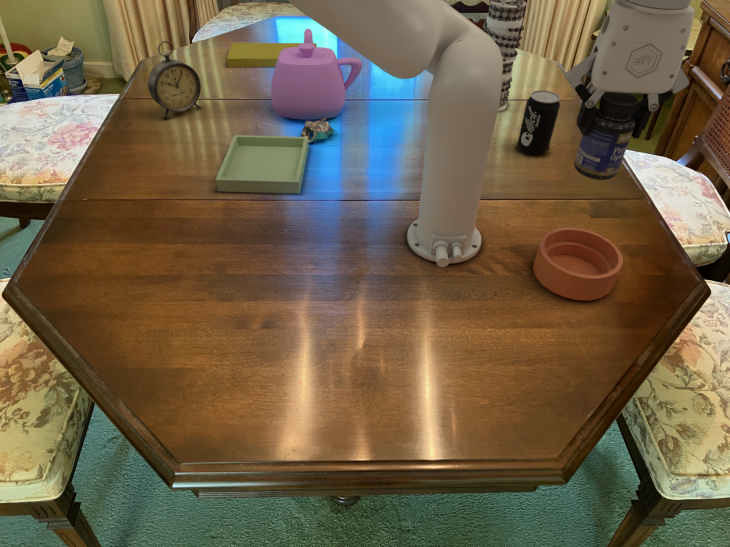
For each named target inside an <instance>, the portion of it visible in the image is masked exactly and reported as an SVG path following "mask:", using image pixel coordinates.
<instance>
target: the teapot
mask: <svg viewBox="0 0 730 547" xmlns="http://www.w3.org/2000/svg"><path fill="white" fill-rule="evenodd" d="M301 43H302V44H299V45H298V47H290V48H285V49H283V50H282V51H281V52H280V54H279V57H278V60H277V63H276V66H275V67H274V69H273V74H272V77H271V86H270V87H271V88H270V100H271V105H272V108H273V109H274V110H275V112H276V113H277V114H278V115H279V116H280V117H282V118H287V119H293V120H321V119H323V118H326V119H331V118H334V117H337V116H339V114H340V113H341V111H342V110H343V108H344V106H345V102H346V98H347V90H348V89H349V88H350V87H351V86H352V84H353V83H354V82H355V81H356V80H357V78H358V76H359V75H360V73H361V71H362V68H363V63H362V60H361V59H359V58H357V57H343V58H338V57H337V55H336V53H335V51H334V50H333V49H332V48H329V47H323V46H322V47H321V46H317V47H315V45H314V44H313V43H314V40H313V31H312V29H310V28H306V29H304V33H303V42H301ZM341 66H350V67H351V70H350V73H349V75H348V77H347V79H346V81H345V79H344V78H345V77H344V74H343V71H342V68H341Z"/></svg>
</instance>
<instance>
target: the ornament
mask: <svg viewBox="0 0 730 547" xmlns="http://www.w3.org/2000/svg"><path fill="white" fill-rule="evenodd" d="M311 134H313V135H312V137H311ZM333 134H335V129H334V128H333V127H332V126H331V125H330V121H327V118H323V119H317V120H314V121H312V119H307V120H305V122H304V126H303V127H302V130H301V132H300V137H308V144H311V143H316V141H317V140H324V139H328V138H329V137H330V135H333Z"/></svg>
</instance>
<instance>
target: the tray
mask: <svg viewBox="0 0 730 547" xmlns="http://www.w3.org/2000/svg"><path fill="white" fill-rule="evenodd" d="M309 144H310V143H308V137H301V136H283V135H282V136H281V135H253V134H252V135H250V134H249V135H248V134H246V135H245V134H234V135H233V136H232V139H231V142H230V144H229V146H228V149H227V151H226V154H225V156H224V159H223V161H222V163H221V166H220V168H219V171H218V173H217V175H216V178H215V184H216V189H217V192H225V193H226V192H227V193H259V194H265V193H267V194H298V195H299V194H301V190H302V183H303V180H304V174H305V169H306V163H307V160H308V159H307V158H308V153H309V149H310V147H309Z"/></svg>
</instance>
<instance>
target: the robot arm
mask: <svg viewBox="0 0 730 547" xmlns="http://www.w3.org/2000/svg"><path fill="white" fill-rule="evenodd" d="M287 1H288V2H289V3H290V4H291V5H292V6H293V7H294V8H296V9H297V10H298V11H299V12H301V13H302V14H304V15H305V16H306V17H308V18H309V19H311V20H313V21H314V23H315V22H316V23H317V24H318V25H320V26H321V27H323V28H324V29H326V30H327V31H328V32H330V34H331V33H332V35H334V36H336V37H337V38H338V39H339V40H340V41H342V42H343V43H344V44H346V45H347V46H349V47H350V48H351V49H352V50H354V51H355V52H357V53H358V54H359V55H361V56H362V57H364V58H365V59H367V60H368V61H369V62H371V63H372V64H373V65H374V66H376V67H378V68H379V69H380V70H381V71H383V72H384V73H386V74H388V75H389V76H391V77H393V78H396V79H400V80H410V79H414V78H416V77H418V76H419V75H420V74H422V73H423V72H424V71H427V72H428V73H429V74H431V75H432V76H433V77H432V80H431V84H430V89H429V93H428V100H427V117H426V132H425V145H424V156H423V169H422V179H421V188H420V199H419V208H418V217H417V219H415V220H413V222H411V224H410V225H409V227H408V228H407V235H406V240H407V244H408V246H409V248H410V249H411V250H412V252H414V253H415V254H417V255H418V256H419V257H421V258H423V259H424V260H427V261H430V262H435V263H436V265H437V267H439V268H445V267H447V266H449V264H458V263H463V262H466V261H468V260H470V259H472V258H474V257H475V256H476V255H477V254H478V253H479V252H480V249H481V246H482V242H483V240H482V235H481V233H480V231H479V230H478V228H477V227H476V223H477V218H478V212H479V207H480V203H481V197H482V192H483V187H484V181H485V176H486V170H487V163H488V159H489V153H490V148H491V142H492V138H493V135H494V134H493V133H494V129H495V125H496V121H497V117H498V113H499V111H498V108H499V103H500V96H501V86H502V70H503V61H502V55H501V52H500V49H499V47H498V46H497V44H496V43H495V42H494V40H493V39H492V38H491V37H489V36H488V35H487V34H486V32H484V31H483V29H481V28H480V27H479V26H477V25H476V24H475V23H473V22H472V21H470V20H469V19H468V17H465V16H464V15H463V14H461V13H460V12H459V11H458V10H456V9H455V8H453V7H452V6H451V5H450V4H449V3H447V2H445V1H444V0H287ZM691 2H692V0H614V1H613V3H612V4H611V6H610V8H609V10H608V12H607V14H606V16H605V18H604V20H603V22H602V25H601V26H600V29H599V31H598V33H597V36H596V39H595V42H594V44H593V47H592V50H591V52H590V54H589V55H588V56H586V57H585V58H584V59H583V60H581V61H580V62H578V63H577V64H575V66H573V67H572V68H570V69H568V70H567V71H566V73H565V78H566V80H567V81H568V83H569V84H570V85H571V87H572V89H574V91H575V93H576V94H577V96H578V97H579V99H580V100H581V101H582V102H581V105H580V108H579V112H578V114H577V118H576V126H577V127H578V128H579V129H578V130H579V131H580V133H581V135H582V136H587V135H589V133H590V130H591V127H592V124H593V121H594V118H595V115H596V112H597V107H596V104H597V102H599V101H600V98H601V96H602V95H603V94H604V93H605V92H622V93H629V94H641V100H638V105H637V107H636V110H635V111H634V112H633V113H632V115H633V116H634V118H635V121H636V125H635V128H634V130H633V133H632V136H631V138H633V139H640V138H641V134H642V132H643V131H644V130H645V129H646V127H647V125H648V123H649V121H650V118H651V115H652V112H656V111H657V109H659V106H660V105H662V104H663V103H665V102H667V101H669V100H670V99H671V98H672V97H673V95H674V94H677V93H679V92H680V91H682V90H684V89H685V88H687V87H688V86H689V85H690V80H689V78H688V76H687V75H686V73H685V72H684V70H683V68H682V67H681V66H682V64H683V60H684V57H685V54H686V51H687V48H688V44H689V41H690V37H691V33H692V29H693V23H694V19H695V13H696V10H695V8H694V7H692V6H690V4H691ZM585 75H586V76H587V77H589V78H590V81H589V83H588V84H587V85H586V86H585V84H584V83H583V81H582V77H583V76H585Z"/></svg>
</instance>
